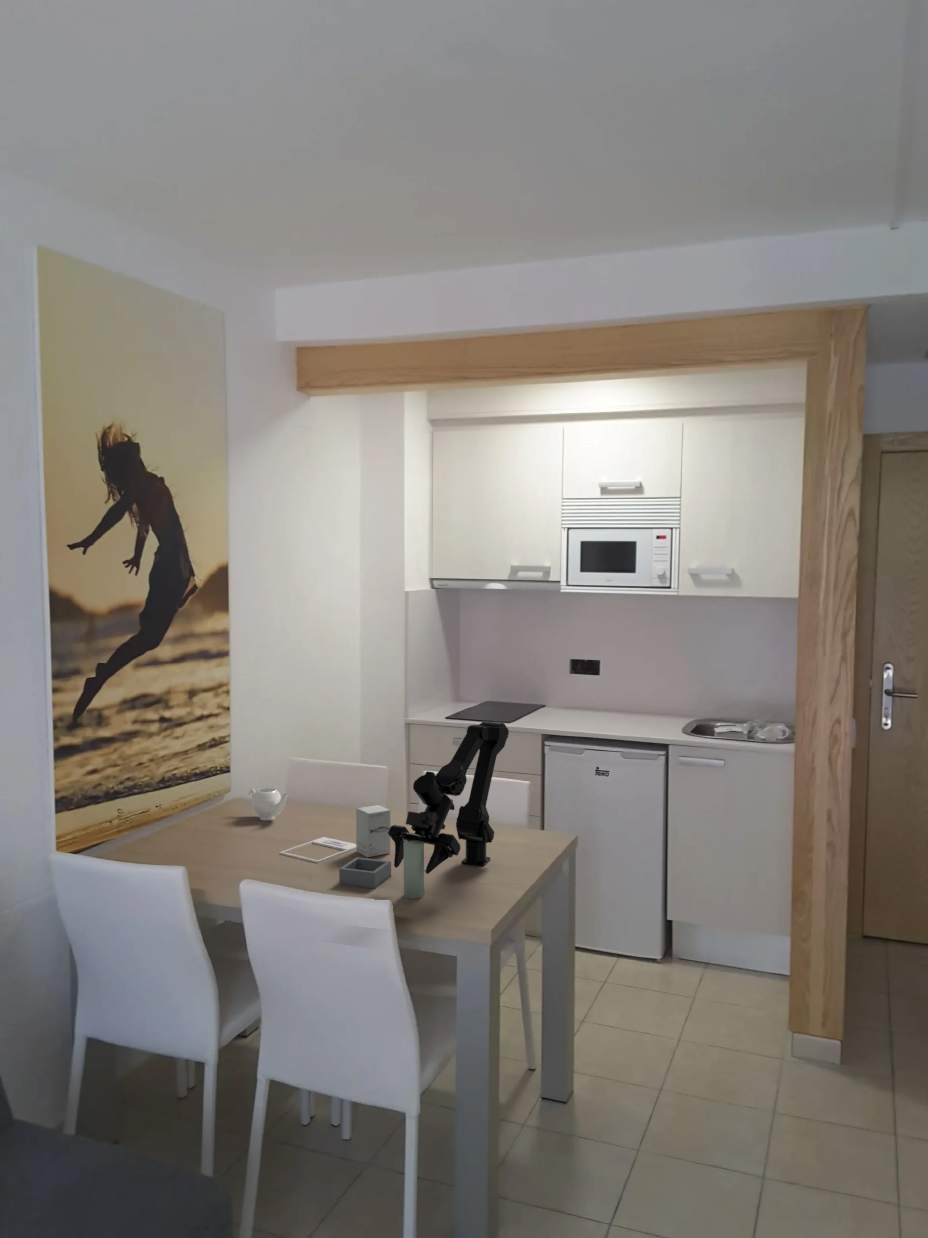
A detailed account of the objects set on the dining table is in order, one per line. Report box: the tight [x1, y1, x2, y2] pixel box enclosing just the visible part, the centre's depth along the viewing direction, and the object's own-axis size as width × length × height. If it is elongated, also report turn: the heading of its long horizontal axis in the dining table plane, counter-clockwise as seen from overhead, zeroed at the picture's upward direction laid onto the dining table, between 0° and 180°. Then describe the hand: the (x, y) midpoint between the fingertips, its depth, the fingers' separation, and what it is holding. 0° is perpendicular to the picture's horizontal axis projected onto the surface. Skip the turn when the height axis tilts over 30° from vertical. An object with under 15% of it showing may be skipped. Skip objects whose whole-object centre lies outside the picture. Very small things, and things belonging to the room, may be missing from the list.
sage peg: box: [403, 841, 425, 900], centre depth 239 cm, size 5×5×13 cm
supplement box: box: [355, 804, 391, 859], centre depth 273 cm, size 7×7×13 cm
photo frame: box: [279, 836, 356, 864], centre depth 276 cm, size 15×1×18 cm
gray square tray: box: [338, 856, 392, 890], centre depth 250 cm, size 10×10×4 cm
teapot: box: [247, 787, 289, 821], centre depth 309 cm, size 10×20×9 cm, turn 49°
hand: (410, 870), depth 238 cm, fingers open, 9 cm apart
